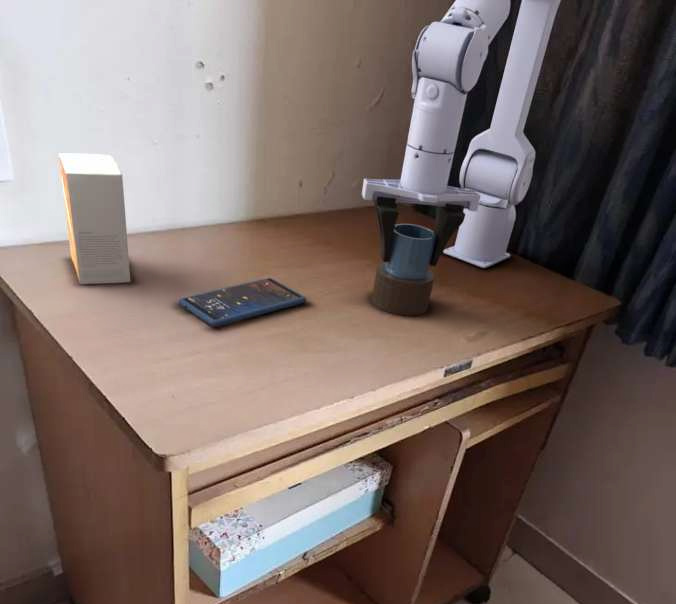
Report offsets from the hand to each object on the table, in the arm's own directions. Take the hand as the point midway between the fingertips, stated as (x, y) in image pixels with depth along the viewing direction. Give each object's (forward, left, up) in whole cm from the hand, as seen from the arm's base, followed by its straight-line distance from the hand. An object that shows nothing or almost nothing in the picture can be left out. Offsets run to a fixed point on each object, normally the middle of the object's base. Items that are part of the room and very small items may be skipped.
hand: (408, 261), depth 87 cm
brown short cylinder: (0, 0, -6) cm, 6 cm away
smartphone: (+18, -12, -6) cm, 22 cm away
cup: (0, 0, -1) cm, 1 cm away
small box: (+26, -30, -6) cm, 40 cm away
